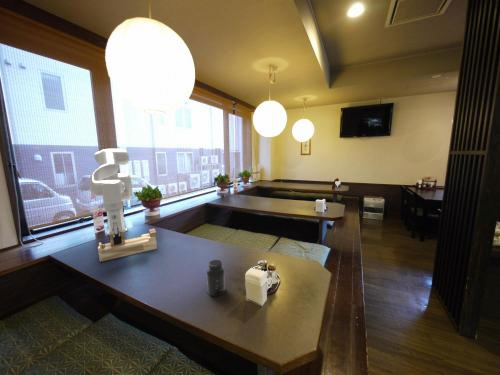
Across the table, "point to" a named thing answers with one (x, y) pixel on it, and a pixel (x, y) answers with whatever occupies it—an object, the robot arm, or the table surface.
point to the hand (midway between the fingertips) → (118, 242)
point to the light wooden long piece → (126, 249)
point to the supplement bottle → (215, 278)
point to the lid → (125, 242)
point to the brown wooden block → (152, 232)
